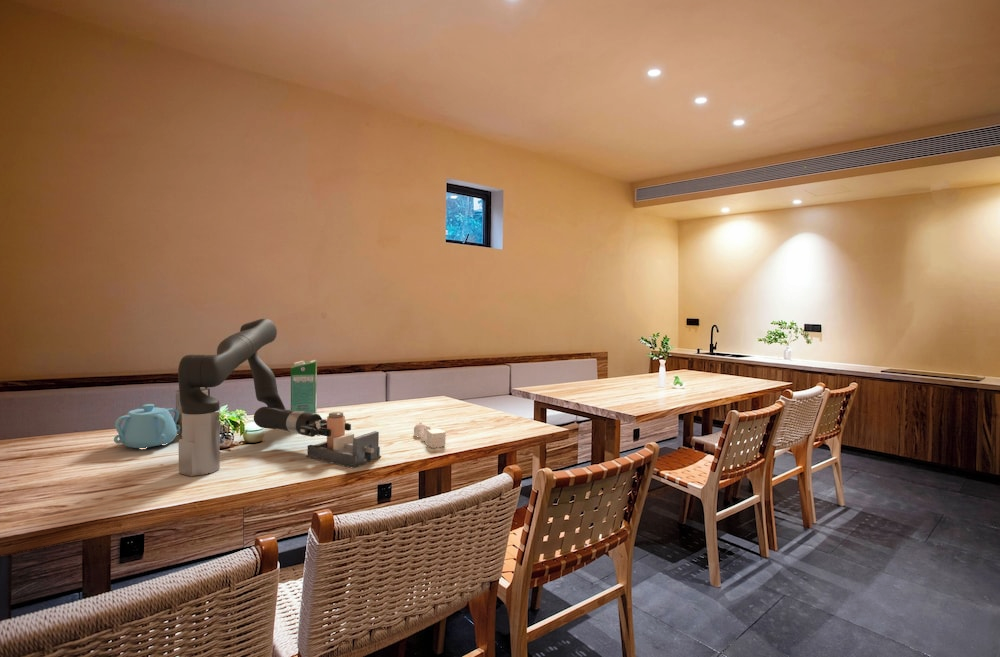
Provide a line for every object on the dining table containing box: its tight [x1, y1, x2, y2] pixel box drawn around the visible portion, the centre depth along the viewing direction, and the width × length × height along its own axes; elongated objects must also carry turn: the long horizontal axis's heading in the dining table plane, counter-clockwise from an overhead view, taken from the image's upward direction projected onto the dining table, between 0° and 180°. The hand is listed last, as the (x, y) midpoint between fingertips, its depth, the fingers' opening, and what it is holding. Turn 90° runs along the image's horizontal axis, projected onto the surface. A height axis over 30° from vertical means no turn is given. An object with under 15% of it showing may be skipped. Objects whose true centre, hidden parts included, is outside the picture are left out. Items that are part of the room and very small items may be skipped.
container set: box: [413, 421, 447, 449], centre depth 180 cm, size 20×5×6 cm, turn 30°
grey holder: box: [305, 430, 382, 469], centre depth 158 cm, size 12×20×8 cm, turn 63°
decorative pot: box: [113, 403, 180, 449], centre depth 166 cm, size 16×16×14 cm
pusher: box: [333, 432, 374, 453], centre depth 156 cm, size 7×12×6 cm, turn 63°
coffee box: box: [174, 387, 211, 436], centre depth 181 cm, size 9×6×16 cm
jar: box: [326, 411, 346, 449], centre depth 160 cm, size 5×5×13 cm
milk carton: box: [290, 359, 318, 414], centre depth 200 cm, size 9×9×25 cm
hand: (340, 430), depth 159 cm, fingers open, 8 cm apart
